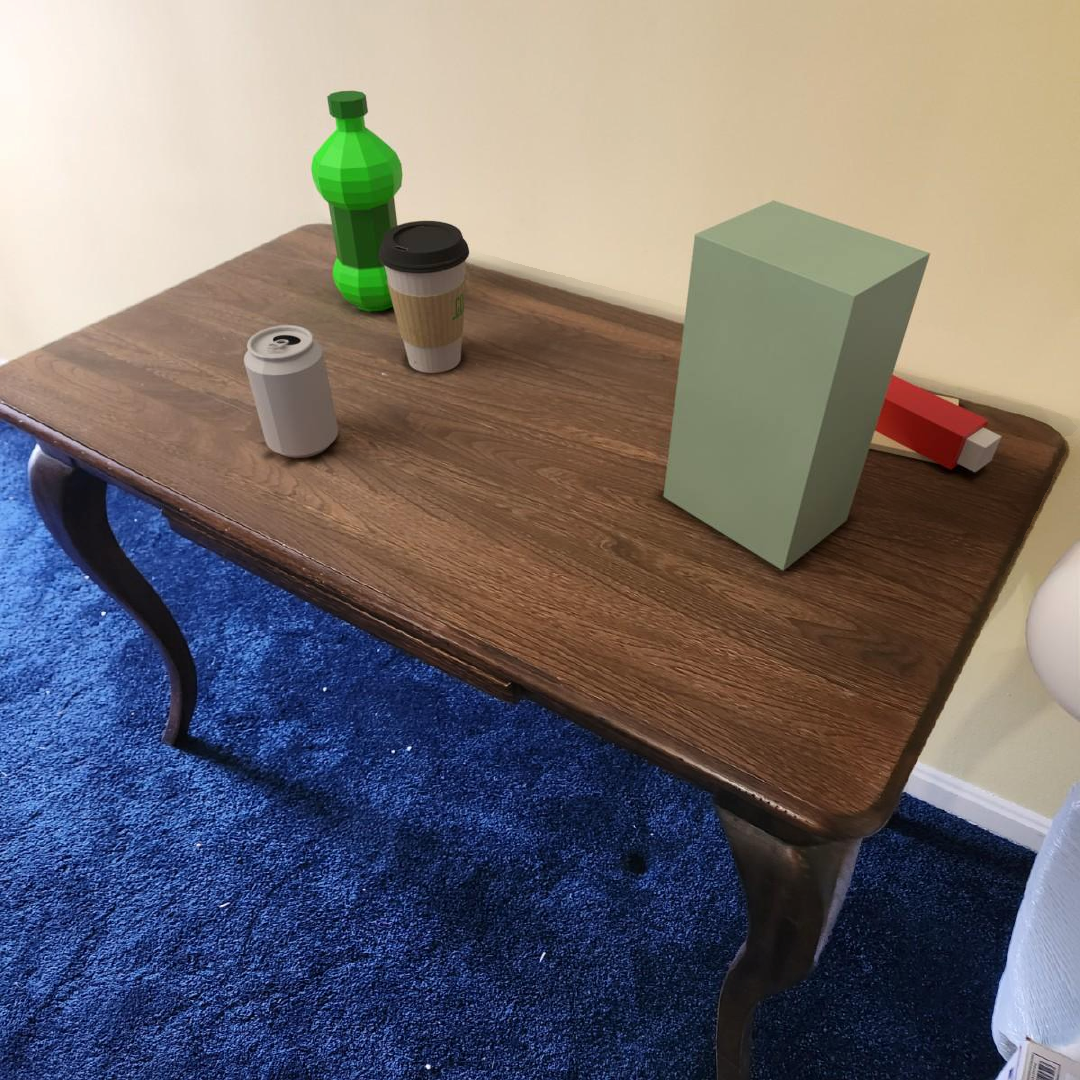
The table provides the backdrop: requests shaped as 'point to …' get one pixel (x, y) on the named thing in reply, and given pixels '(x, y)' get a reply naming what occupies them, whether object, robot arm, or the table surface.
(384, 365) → the table surface
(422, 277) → the coffee cup
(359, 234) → the plastic bottle
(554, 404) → the table surface
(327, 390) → the can
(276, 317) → the table surface
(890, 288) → the stand
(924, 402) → the long red beam
